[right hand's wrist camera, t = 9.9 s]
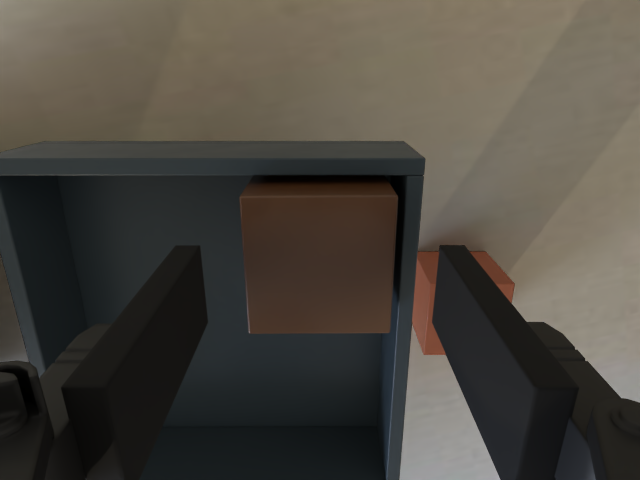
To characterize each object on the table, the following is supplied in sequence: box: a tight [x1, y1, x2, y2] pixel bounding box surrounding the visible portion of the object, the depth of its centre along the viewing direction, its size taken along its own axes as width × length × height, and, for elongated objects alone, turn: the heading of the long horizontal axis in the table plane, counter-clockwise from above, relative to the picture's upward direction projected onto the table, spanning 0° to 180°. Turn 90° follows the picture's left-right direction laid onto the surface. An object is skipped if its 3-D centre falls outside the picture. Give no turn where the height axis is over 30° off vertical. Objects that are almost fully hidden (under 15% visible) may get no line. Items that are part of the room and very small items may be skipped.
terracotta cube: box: [412, 252, 515, 355], centre depth 30 cm, size 5×5×5 cm
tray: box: [0, 141, 425, 480], centre depth 19 cm, size 26×15×10 cm, turn 0°
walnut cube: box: [239, 175, 398, 334], centre depth 17 cm, size 5×5×5 cm
